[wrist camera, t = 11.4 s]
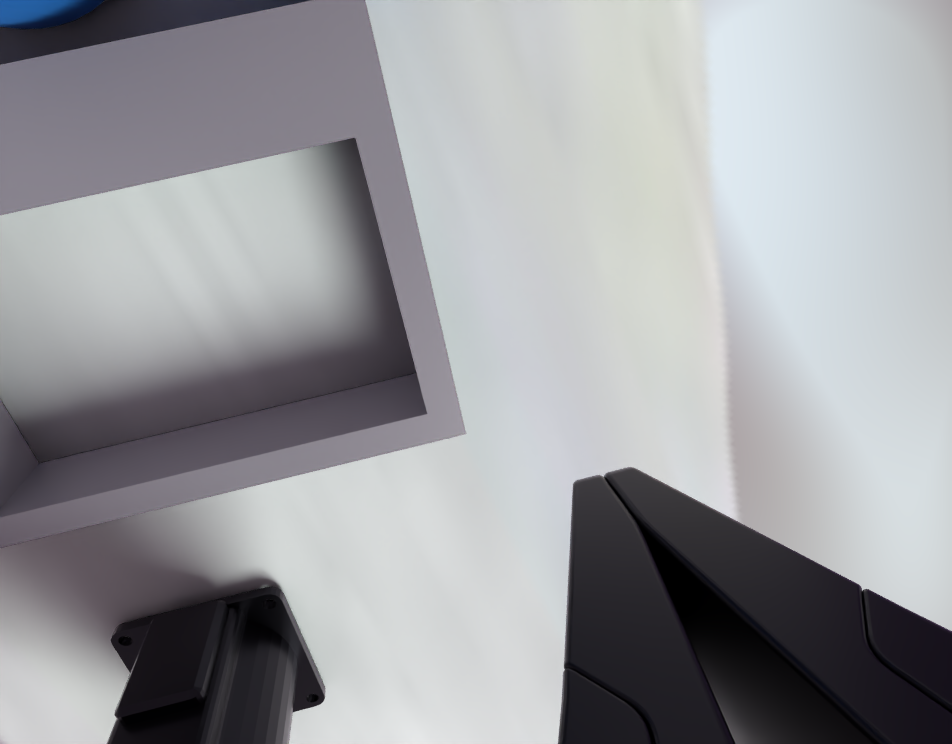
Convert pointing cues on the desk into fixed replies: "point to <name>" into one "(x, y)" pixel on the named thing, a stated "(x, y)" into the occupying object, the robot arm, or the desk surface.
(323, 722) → the desk surface
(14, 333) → the desk surface
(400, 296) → the slot holder
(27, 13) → the beverage can
